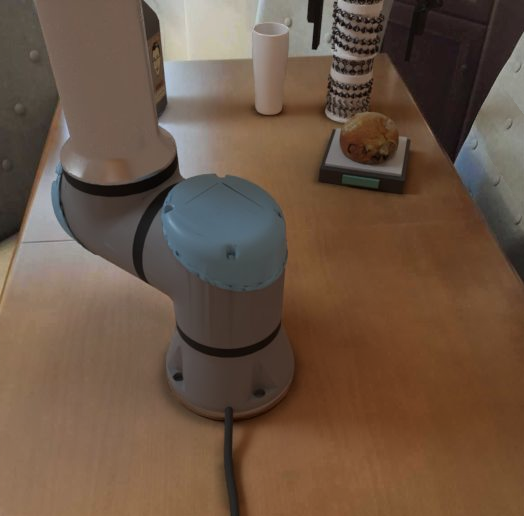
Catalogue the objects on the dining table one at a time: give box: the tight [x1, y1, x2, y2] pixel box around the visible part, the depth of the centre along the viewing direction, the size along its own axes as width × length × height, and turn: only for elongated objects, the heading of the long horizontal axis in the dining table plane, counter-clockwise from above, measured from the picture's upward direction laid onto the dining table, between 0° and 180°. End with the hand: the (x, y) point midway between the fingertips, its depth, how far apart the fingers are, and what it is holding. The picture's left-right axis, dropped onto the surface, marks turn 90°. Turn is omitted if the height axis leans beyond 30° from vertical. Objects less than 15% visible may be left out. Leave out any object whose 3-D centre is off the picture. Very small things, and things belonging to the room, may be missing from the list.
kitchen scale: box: [318, 127, 412, 195], centre depth 103 cm, size 14×14×3 cm
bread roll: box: [339, 111, 400, 164], centre depth 101 cm, size 10×10×8 cm
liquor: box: [141, 0, 168, 118], centre depth 106 cm, size 9×9×30 cm
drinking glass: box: [251, 21, 290, 116], centre depth 112 cm, size 7×7×15 cm
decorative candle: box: [324, 0, 385, 124], centre depth 109 cm, size 9×9×25 cm
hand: (360, 52), depth 88 cm, fingers open, 13 cm apart
